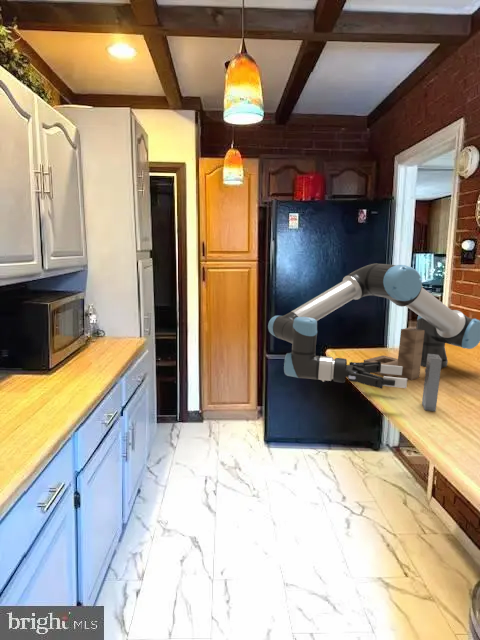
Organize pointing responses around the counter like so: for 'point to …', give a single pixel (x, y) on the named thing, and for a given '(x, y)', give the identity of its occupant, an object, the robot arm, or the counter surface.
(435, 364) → the grey metal block
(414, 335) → the wooden post with frame
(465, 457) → the counter surface
